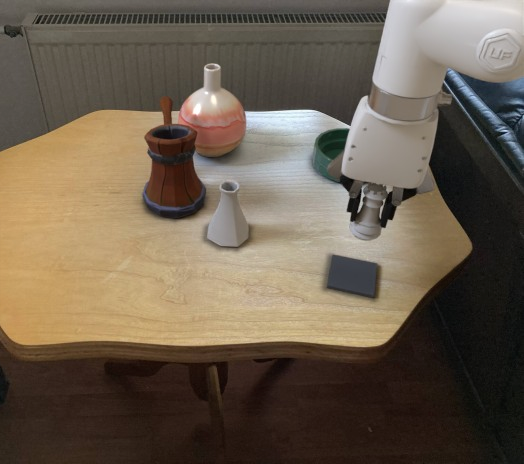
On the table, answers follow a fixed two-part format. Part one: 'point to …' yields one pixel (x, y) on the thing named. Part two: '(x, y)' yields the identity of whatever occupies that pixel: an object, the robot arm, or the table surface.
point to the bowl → (328, 149)
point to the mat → (352, 276)
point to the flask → (228, 218)
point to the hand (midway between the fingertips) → (368, 217)
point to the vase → (214, 116)
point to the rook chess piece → (369, 213)
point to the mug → (172, 168)
